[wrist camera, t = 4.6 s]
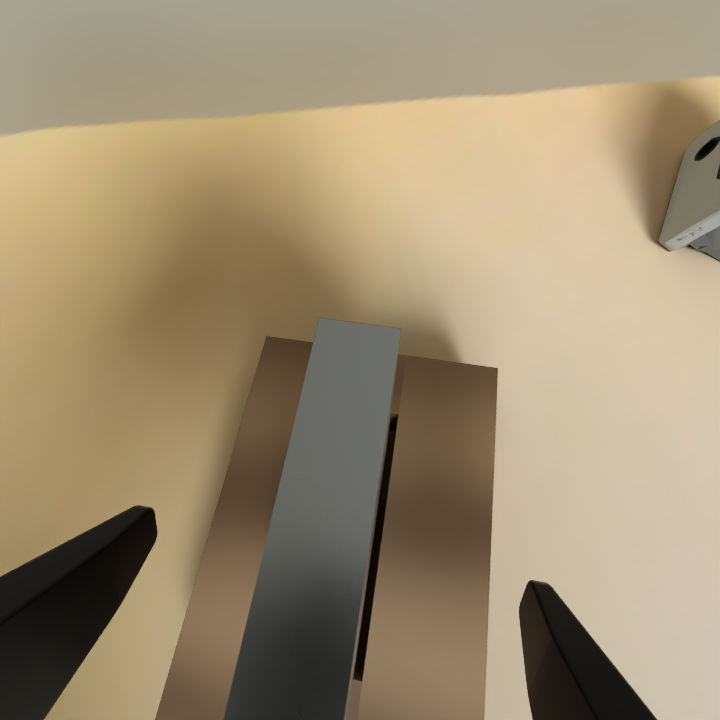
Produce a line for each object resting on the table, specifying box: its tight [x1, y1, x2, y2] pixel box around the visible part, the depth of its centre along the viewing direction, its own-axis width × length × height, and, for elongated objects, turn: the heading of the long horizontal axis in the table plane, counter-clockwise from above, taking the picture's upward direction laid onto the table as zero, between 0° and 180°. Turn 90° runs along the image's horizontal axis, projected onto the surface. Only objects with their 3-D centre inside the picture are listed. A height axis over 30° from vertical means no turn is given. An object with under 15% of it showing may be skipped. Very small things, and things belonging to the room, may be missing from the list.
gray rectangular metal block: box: [223, 318, 401, 720], centre depth 12 cm, size 8×2×11 cm, turn 170°
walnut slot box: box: [155, 336, 498, 720], centre depth 16 cm, size 14×10×4 cm
